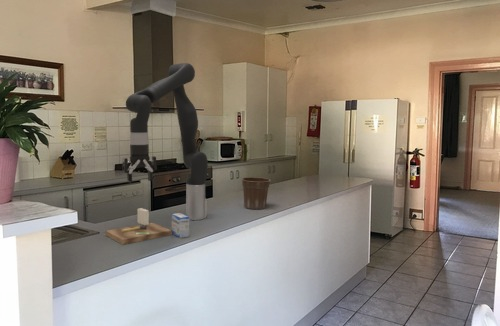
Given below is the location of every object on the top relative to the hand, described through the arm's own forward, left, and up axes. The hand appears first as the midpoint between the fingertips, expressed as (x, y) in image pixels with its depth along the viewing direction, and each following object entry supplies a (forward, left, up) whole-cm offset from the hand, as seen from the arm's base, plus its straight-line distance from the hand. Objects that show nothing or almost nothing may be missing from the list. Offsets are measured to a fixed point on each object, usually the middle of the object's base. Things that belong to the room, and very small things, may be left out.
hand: (140, 181), depth 176 cm
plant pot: (-75, -7, -23) cm, 79 cm away
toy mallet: (+3, +1, -20) cm, 20 cm away
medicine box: (-12, +13, -23) cm, 29 cm away
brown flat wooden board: (+2, +3, -22) cm, 23 cm away
